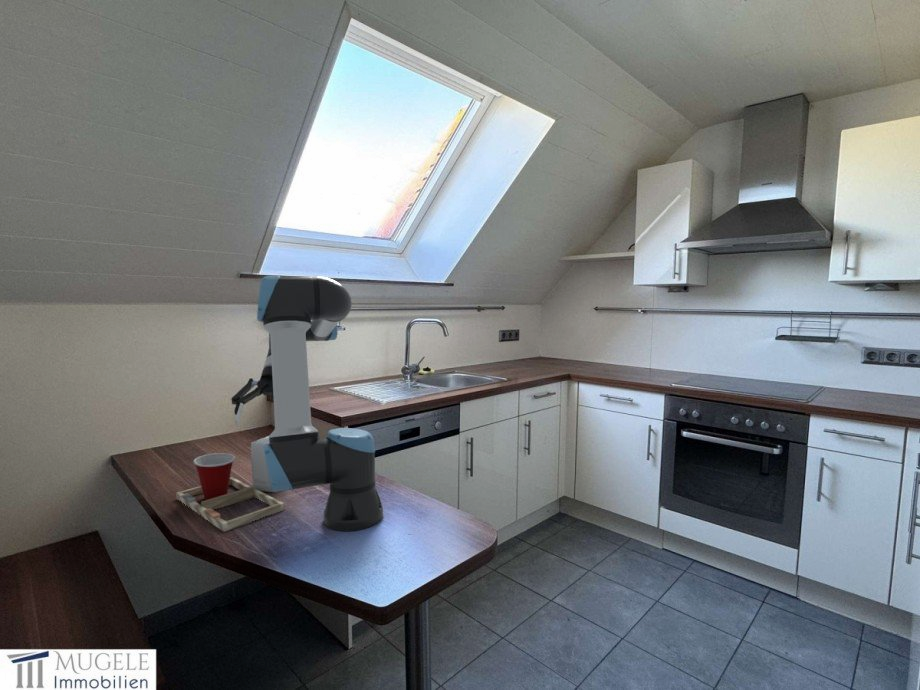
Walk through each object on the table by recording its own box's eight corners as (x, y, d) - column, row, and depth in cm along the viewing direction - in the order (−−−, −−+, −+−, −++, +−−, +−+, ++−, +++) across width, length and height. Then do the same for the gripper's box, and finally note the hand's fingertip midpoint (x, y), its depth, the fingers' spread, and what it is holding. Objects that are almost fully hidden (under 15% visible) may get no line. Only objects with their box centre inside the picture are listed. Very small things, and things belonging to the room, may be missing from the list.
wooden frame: (284, 510, 126) (283, 499, 126) (222, 532, 114) (221, 520, 114) (232, 483, 147) (232, 474, 147) (175, 499, 135) (175, 489, 134)
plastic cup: (219, 506, 129) (217, 464, 128) (186, 503, 131) (184, 462, 131) (245, 491, 140) (243, 452, 139) (214, 489, 142) (212, 451, 141)
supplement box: (276, 493, 138) (274, 444, 137) (251, 490, 141) (249, 442, 140) (295, 482, 147) (293, 436, 146) (271, 480, 149) (269, 434, 148)
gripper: (312, 382, 162) (301, 435, 148) (235, 373, 156) (217, 427, 142) (313, 369, 157) (302, 423, 143) (234, 359, 150) (215, 414, 136)
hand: (260, 425), depth 142 cm, fingers open, 13 cm apart
